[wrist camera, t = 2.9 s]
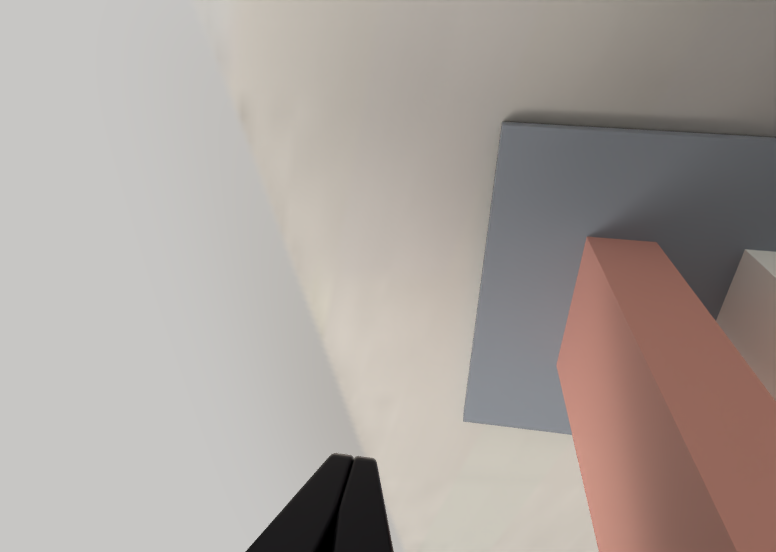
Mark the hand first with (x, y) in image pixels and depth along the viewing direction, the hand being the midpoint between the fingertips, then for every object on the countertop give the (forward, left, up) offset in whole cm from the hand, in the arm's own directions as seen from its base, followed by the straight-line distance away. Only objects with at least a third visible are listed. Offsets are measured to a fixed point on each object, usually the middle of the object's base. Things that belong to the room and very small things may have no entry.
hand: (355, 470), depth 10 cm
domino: (0, -6, -7) cm, 9 cm away
